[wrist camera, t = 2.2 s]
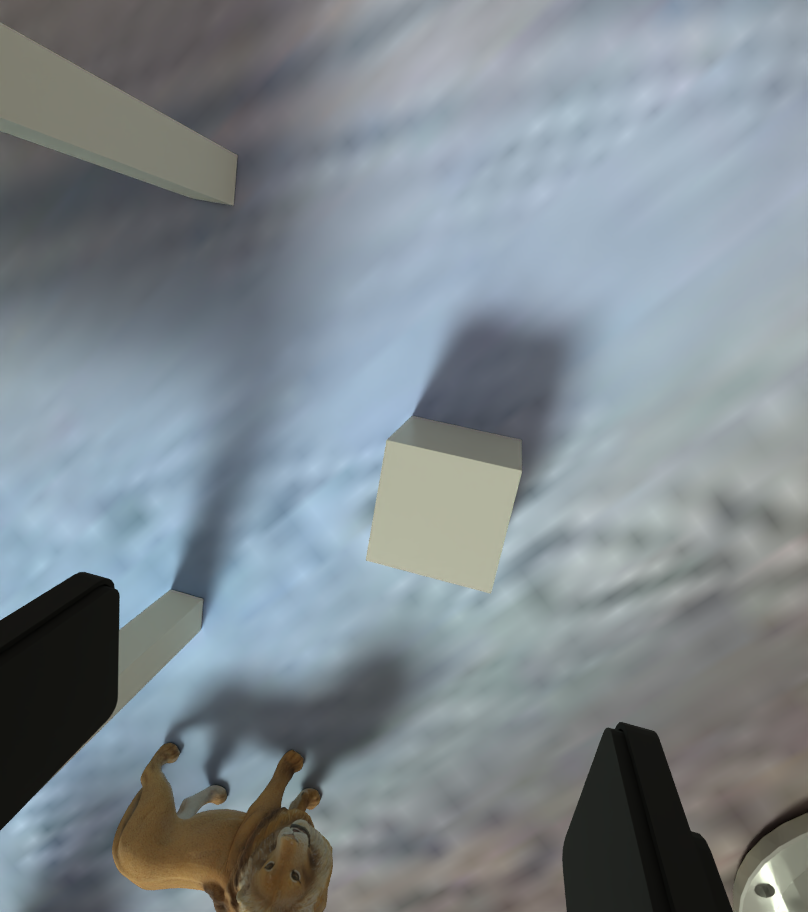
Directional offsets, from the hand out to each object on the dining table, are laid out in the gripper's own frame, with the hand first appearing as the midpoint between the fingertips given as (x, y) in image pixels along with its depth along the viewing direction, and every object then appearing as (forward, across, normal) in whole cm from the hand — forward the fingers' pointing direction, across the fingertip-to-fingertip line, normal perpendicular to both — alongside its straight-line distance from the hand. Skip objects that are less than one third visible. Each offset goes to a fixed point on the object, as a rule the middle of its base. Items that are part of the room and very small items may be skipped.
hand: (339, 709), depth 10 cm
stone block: (+16, -1, 0) cm, 16 cm away
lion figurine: (+16, +7, +21) cm, 27 cm away
